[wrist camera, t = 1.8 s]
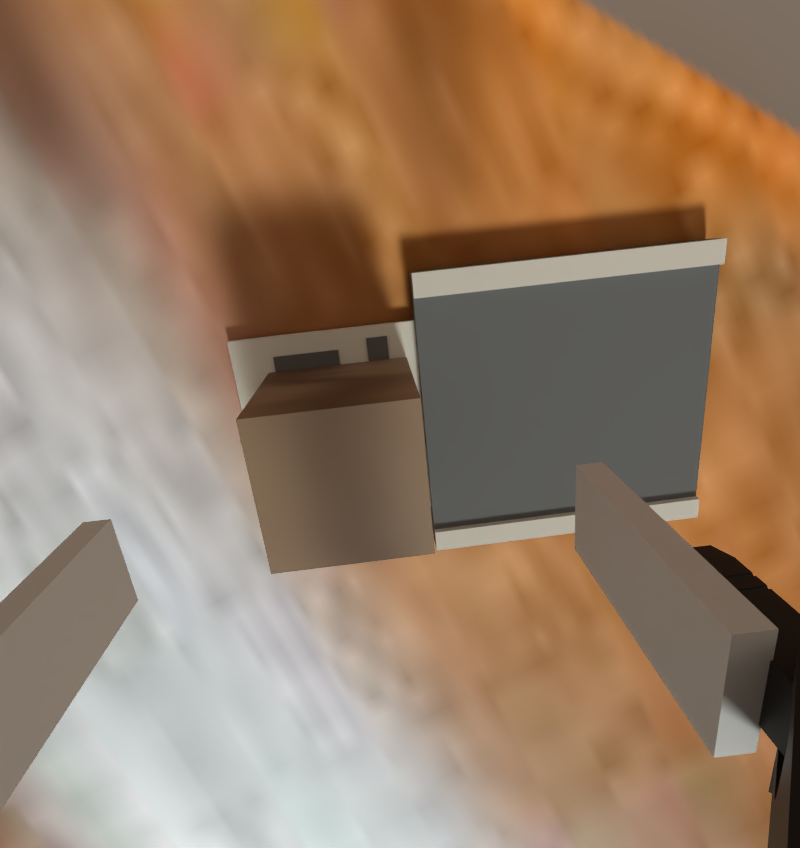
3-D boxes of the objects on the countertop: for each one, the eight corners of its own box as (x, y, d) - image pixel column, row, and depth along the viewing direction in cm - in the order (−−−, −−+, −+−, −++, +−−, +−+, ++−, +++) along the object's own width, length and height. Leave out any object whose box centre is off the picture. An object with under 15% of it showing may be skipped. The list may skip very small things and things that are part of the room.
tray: (433, 538, 26) (437, 550, 25) (409, 271, 21) (411, 273, 20) (684, 506, 26) (697, 516, 25) (709, 238, 22) (727, 238, 21)
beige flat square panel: (268, 523, 25) (266, 527, 25) (228, 340, 22) (226, 342, 22) (450, 500, 25) (452, 504, 25) (436, 316, 22) (437, 318, 22)
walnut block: (292, 495, 24) (271, 573, 19) (268, 372, 22) (235, 419, 16) (418, 480, 24) (434, 553, 19) (406, 357, 22) (420, 398, 17)
